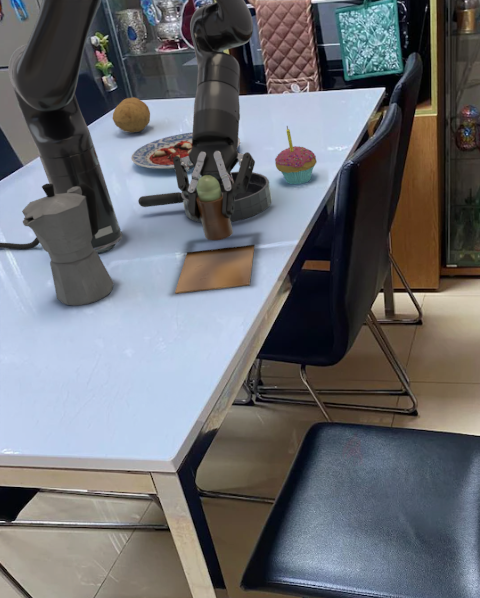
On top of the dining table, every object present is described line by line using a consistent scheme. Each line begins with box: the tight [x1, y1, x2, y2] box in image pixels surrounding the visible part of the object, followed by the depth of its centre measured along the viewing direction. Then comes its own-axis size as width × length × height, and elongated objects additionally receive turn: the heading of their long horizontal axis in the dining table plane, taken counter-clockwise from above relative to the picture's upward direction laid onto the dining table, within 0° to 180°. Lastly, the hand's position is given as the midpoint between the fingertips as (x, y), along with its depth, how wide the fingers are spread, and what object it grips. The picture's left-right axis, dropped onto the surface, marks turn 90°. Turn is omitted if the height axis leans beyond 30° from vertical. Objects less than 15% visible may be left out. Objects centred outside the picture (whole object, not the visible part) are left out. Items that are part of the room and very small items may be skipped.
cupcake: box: [274, 125, 317, 185], centre depth 144 cm, size 9×8×12 cm
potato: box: [112, 97, 151, 134], centre depth 189 cm, size 10×14×8 cm
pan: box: [181, 171, 273, 223], centre depth 138 cm, size 17×17×4 cm
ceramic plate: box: [130, 131, 241, 170], centre depth 168 cm, size 26×26×3 cm
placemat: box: [174, 244, 256, 294], centre depth 121 cm, size 12×20×1 cm, turn 3°
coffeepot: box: [21, 183, 115, 306], centre depth 112 cm, size 15×9×18 cm, turn 159°
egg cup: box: [196, 175, 234, 241], centre depth 118 cm, size 5×5×10 cm
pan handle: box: [138, 191, 183, 208], centre depth 138 cm, size 9×2×2 cm, turn 93°
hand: (210, 216), depth 117 cm, fingers closed on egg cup, 4 cm apart
